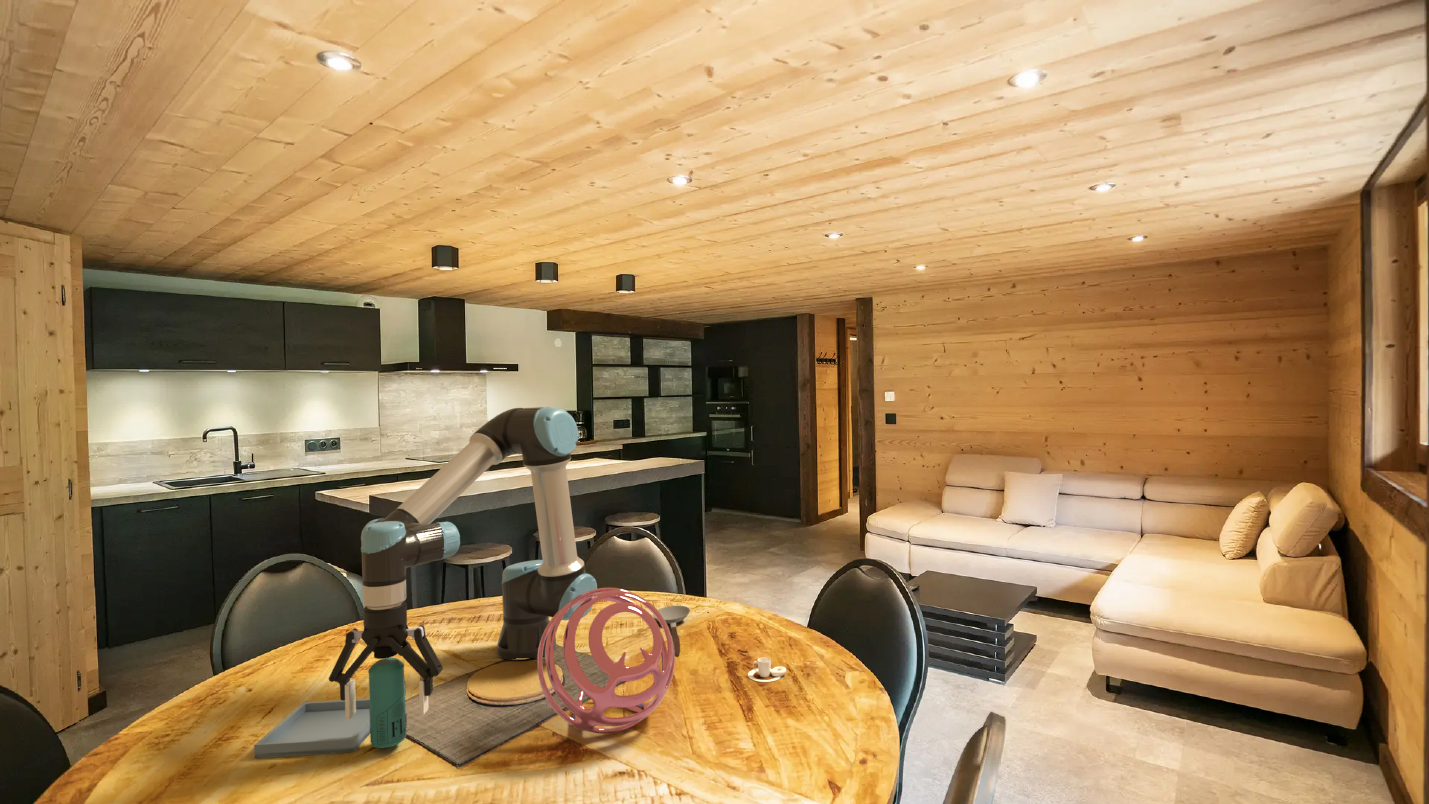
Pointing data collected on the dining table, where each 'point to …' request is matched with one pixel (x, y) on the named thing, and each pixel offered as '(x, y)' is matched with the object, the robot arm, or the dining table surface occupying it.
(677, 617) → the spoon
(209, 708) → the dining table surface
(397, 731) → the beverage bottle
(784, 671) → the teacup and saucer
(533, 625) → the robot arm
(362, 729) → the tray
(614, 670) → the pink openwork sphere
